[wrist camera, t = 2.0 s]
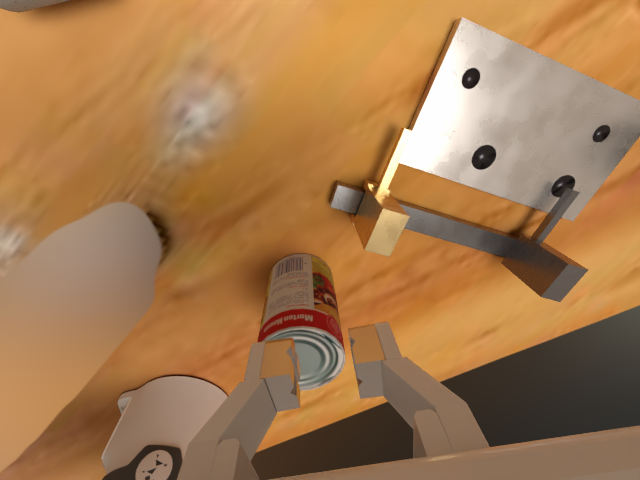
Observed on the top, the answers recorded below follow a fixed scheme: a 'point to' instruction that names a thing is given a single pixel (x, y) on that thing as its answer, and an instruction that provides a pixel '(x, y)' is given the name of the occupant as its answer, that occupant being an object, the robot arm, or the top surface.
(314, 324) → the canned food
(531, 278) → the rail
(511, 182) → the bolt plate
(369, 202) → the sliding leg
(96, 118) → the top surface
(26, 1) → the ceramic mug
